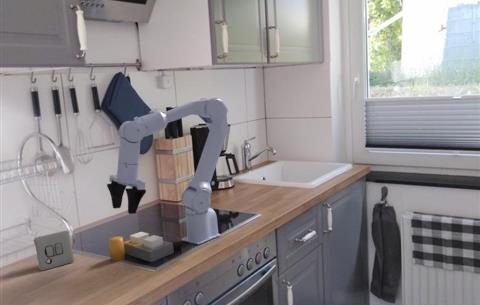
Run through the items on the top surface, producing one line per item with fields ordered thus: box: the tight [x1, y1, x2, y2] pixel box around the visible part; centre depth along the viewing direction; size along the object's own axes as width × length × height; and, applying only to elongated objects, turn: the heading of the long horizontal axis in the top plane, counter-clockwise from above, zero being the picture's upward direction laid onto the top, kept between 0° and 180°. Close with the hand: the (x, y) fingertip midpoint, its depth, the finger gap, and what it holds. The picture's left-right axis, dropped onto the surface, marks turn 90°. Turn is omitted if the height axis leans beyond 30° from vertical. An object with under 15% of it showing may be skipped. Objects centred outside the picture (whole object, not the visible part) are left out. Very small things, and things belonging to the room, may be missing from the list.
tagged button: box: [129, 231, 150, 245], centre depth 135 cm, size 4×4×3 cm
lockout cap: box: [108, 235, 126, 263], centre depth 130 cm, size 4×4×6 cm
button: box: [143, 235, 164, 249], centre depth 130 cm, size 4×4×3 cm
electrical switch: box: [33, 230, 75, 271], centre depth 130 cm, size 9×5×9 cm, turn 124°
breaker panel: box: [123, 239, 175, 263], centre depth 133 cm, size 8×14×3 cm, turn 48°
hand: (124, 210), depth 130 cm, fingers open, 7 cm apart
